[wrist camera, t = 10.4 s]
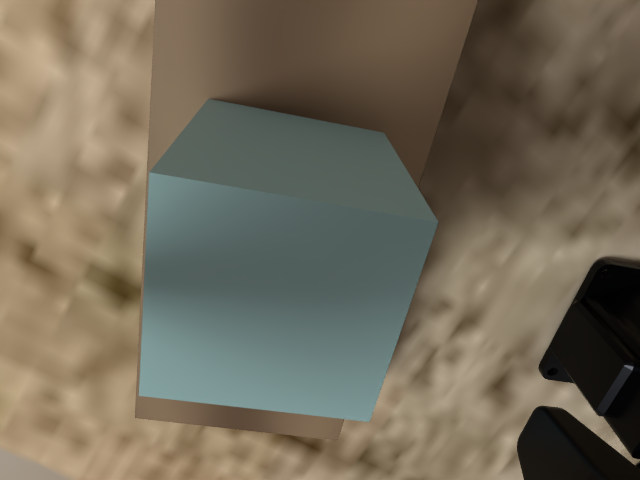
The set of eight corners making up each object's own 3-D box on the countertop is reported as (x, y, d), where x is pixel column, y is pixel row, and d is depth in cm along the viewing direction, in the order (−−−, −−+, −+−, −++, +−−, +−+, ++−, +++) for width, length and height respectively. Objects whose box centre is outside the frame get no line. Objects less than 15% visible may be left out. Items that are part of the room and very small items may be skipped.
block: (384, 132, 14) (438, 221, 9) (345, 279, 16) (369, 422, 11) (208, 98, 13) (148, 172, 8) (193, 255, 15) (138, 395, 10)
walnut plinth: (476, -138, 14) (535, -179, 11) (331, 371, 23) (337, 440, 20) (203, -215, 13) (169, -289, 10) (160, 349, 22) (135, 417, 19)
